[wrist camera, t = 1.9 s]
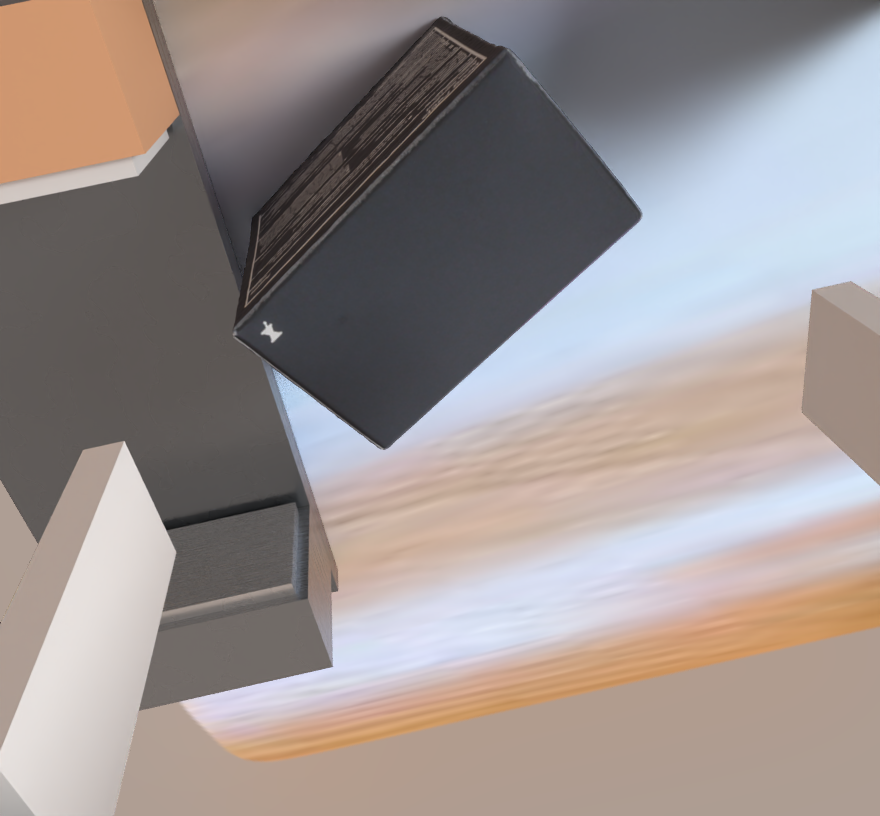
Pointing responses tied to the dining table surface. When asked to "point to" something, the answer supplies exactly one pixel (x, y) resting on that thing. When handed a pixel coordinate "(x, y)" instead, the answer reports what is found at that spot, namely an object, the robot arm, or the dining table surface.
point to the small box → (424, 234)
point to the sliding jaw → (78, 95)
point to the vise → (164, 411)
